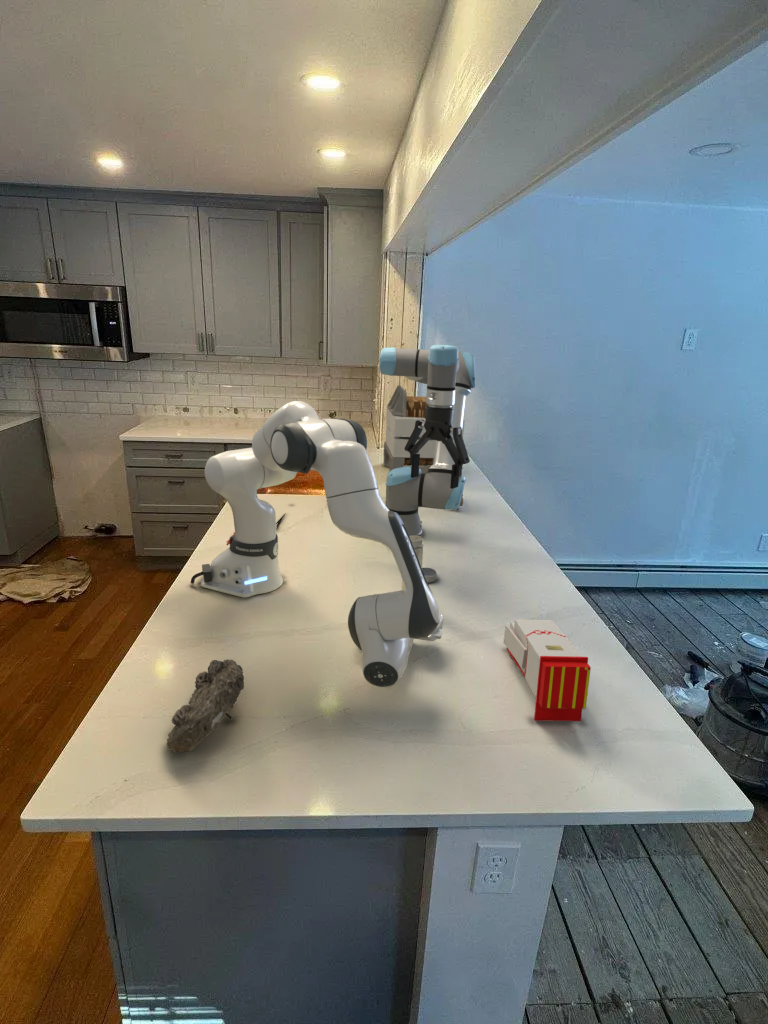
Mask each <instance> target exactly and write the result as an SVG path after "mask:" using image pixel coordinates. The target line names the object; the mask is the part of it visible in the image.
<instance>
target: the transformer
mask: <svg viewBox="0 0 768 1024" xmlns="http://www.w3.org/2000/svg"><path fill="white" fill-rule="evenodd" d="M407 394H408V393H407V390H406V389H404V388H403V387H402V385H399V384H398V385H397V386H396V388H395V390H394V392H393V394H392V395H391V398H390V400H389V402H388V404H387V405H386V413H385V414H386V415H385V423H386V428H385V438H384V442H383V466H384V467H388V468H389V472H390V471H391V470H393V469H396V468H400V467H405V466H406V467H411V465H410V453H409V452H408V451H405V449H404V448H405V446H406V444H407V442H408V440H409V438H410V436H411V434H412V432H413V430H414V428H415V422H416V421H417V420H424V422H425V421H426V419H425V407H426V406H427V405H428V404H427V403H426V396H415V395H414V396H413V395H412V396H411V395H407ZM464 429H465V419H464V418H463V426H462V437H463V438H464V431H465V430H464ZM425 432H426V430H425V428H423V430H422V432H421V434H420V436H419V438H418V440H417V442H418V441H419V440H420V439H421V437H422V435H423V434H424V433H425ZM417 442H416V443H417ZM435 442H436V440H431V439H429V440H428V441H427V443H426V444H425V445H424V446H423V447H422V448H421V449H420V450H419V451H418V452H419V453H417V454H420V462H419V467H430V466H432V465H433V461H434V452H435Z"/></svg>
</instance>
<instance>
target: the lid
mask: <svg viewBox="0 0 768 1024" xmlns="http://www.w3.org/2000/svg"><path fill="white" fill-rule="evenodd" d="M422 571H423V573H424V576H425V578H426V581H427V583H428V584H431V583H434V582H436V581H437V577H438V572H437V570H435V569H434V568H431V567H422Z"/></svg>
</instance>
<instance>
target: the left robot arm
mask: <svg viewBox="0 0 768 1024" xmlns="http://www.w3.org/2000/svg"><path fill="white" fill-rule="evenodd" d="M367 448H368V438H367V434H366V431H365V429H364V427H363V426H362V425H361V424H360V423H359V422H357V421H355V420H352V419H348V418H343V417H331V418H319V415H318V413H317V411H316V410H315V408H314V407H313V406H312V405H310V404H309V403H307V402H305V401H303V400H291V401H289V402H287V403H285V404H284V405H282V406H281V407H279V408H278V409H277V410H276V411H274V412H273V413H271V415H270V416H269V417H268V418H267V419H266V420H265V421H264V423H263V424H262V425H261V426H260V427H259V428H258V430H257V431H256V432H255V433H254V434H253V436H252V440H251V447H246V448H245V447H244V448H239V449H238V448H237V449H232V450H226V451H223V452H220V453H218V454H214V455H212V456H210V457H209V458H208V460H207V461H206V463H205V467H204V478H205V481H206V483H207V485H208V487H209V488H210V489H211V490H212V491H213V492H215V493H216V494H218V495H220V496H221V497H222V498H224V499H225V500H226V502H227V504H228V505H229V506H230V509H231V512H232V517H233V525H234V526H233V527H234V532H233V534H231V536H229V539H228V540H227V541H226V546H229V547H228V548H226V549H225V550H223V551H222V552H220V553H219V554H218V555H217V556H215V557H214V558H213V559H212V560H211V563H204V564H201V571H200V572H197V573H195V574H194V575H193V576H191V580H190V584H191V585H194V584H195V580H196V579H197V578H198V577H201V576H202V578H201V581H200V586H201V587H202V588H205V589H209V590H212V591H216V592H221V593H224V594H227V595H232V596H236V597H239V598H243V599H245V598H246V599H247V598H249V597H253V596H256V595H260V594H261V595H262V594H266V593H270V592H272V591H276V590H277V589H278V588H280V587H281V586H282V585H283V583H284V579H283V576H282V573H281V568H280V565H279V564H280V563H279V559H278V558H279V557H278V555H279V537H278V534H277V530H276V529H277V524H276V523H277V517H276V516H277V514H276V513H277V512H276V509H275V508H274V506H273V505H272V504H271V503H270V502H268V501H266V500H264V499H261V498H259V497H258V490H260V489H265V488H269V487H270V488H271V487H275V486H279V485H282V484H285V483H287V482H289V481H291V480H293V479H295V478H296V476H297V474H298V473H301V474H305V475H307V474H308V473H309V472H310V471H315V472H317V473H318V474H319V475H320V477H321V478H322V481H323V486H324V493H325V499H326V500H325V501H326V505H327V509H328V513H329V517H330V520H331V522H332V523H333V525H334V526H335V528H337V529H338V530H339V531H340V532H342V533H344V534H346V535H348V536H351V537H355V538H358V539H362V540H368V541H372V542H376V543H380V544H382V545H384V547H386V548H388V550H389V551H390V552H391V554H392V557H393V559H394V561H395V564H396V566H397V570H398V571H399V575H400V577H401V581H402V580H403V583H404V585H405V589H404V590H402V589H401V590H396V591H389V592H384V593H374V594H368V595H363V596H358V597H357V598H356V599H355V600H354V601H353V603H352V605H351V608H350V610H349V612H348V617H347V627H348V632H349V635H350V638H351V640H352V642H353V644H354V645H355V646H356V647H357V649H358V650H359V651H360V652H361V655H362V665H361V667H362V668H361V670H362V672H361V673H362V675H363V678H364V679H365V680H366V682H368V683H369V684H371V685H373V686H375V687H378V688H386V687H392V686H394V685H395V684H397V683H398V682H399V681H400V680H401V678H402V676H403V675H404V672H405V670H406V667H407V665H408V661H409V657H410V652H411V650H412V646H413V643H414V641H415V640H420V641H427V642H432V641H433V642H434V641H436V640H441V639H442V636H443V627H444V615H442V613H440V608H439V605H438V603H437V600H436V598H435V596H434V594H433V591H432V589H431V588H430V587H431V586H430V585H429V583H427V581H426V578H425V576H424V573H423V571H422V568H423V567H422V568H421V565H420V563H419V560H418V558H417V555H416V552H415V550H414V547H413V545H412V542H411V540H410V537H409V535H408V532H407V530H406V528H405V525H404V523H403V521H402V520H401V518H400V516H399V515H398V514H397V513H396V512H393V511H390V510H389V509H388V508H387V507H386V505H385V504H386V503H384V500H383V498H382V496H381V494H380V489H379V485H378V481H377V477H376V473H375V470H374V466H373V464H372V461H371V457H370V455H369V452H368V451H367Z"/></svg>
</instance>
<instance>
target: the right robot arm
mask: <svg viewBox="0 0 768 1024" xmlns="http://www.w3.org/2000/svg"><path fill="white" fill-rule="evenodd" d="M378 363H379V371H380V373H381V374H382V375H384V376H390V377H405V378H406V379H407V380H410V381H413V382H417V383H420V384H423V385H426V393H425V394H426V396H425V397H426V403H427V404H428V405H427V406H426V407H425V419H426V421H425V422H424V420H417V421H416V422H415V428H414V430H413V432H412V434H411V436H410V438H409V440H408V442H407V444H406V446H405V448H404V449H405V451H408V452H409V453H410V465H411V466H404V467H400V468H396V469H393V470H391V471H390V470H389V472H388V473H387V475H386V482H385V503H384V504H385V505H386V507H387V508H388V509H389V510H390V511H393V512H396V513H397V514H398V515H399V516H400V518H401V520H402V521H403V523H404V525H405V528H406V530H407V532H408V535H409V536H411V535H416V536H420V537H422V535H423V525H422V522H423V520H421V518H420V515H419V508H427V509H436V510H443V511H447V510H448V511H456V510H457V508H460V506H459V505H460V502H461V498H463V497H462V494H463V495H464V489H465V484H466V477H465V476H462V475H463V465H466V464H469V463H470V462H471V460H470V457H469V454H468V449H467V446H466V444H465V440H464V436H463V437H462V426H463V419H464V417H465V416H464V415H465V406H466V398H467V397H468V396H469V395H470V394H471V392H472V389H475V388H476V357H475V355H474V354H473V352H468V351H462V350H460V351H459V348H458V347H457V346H456V345H451V344H450V345H449V344H432V345H430V347H429V349H421V348H420V349H419V348H418V349H415V348H403V347H401V348H400V347H384V348H382V349H381V350H380V354H379V362H378ZM423 428H425V430H426V432H425V433H424V434H423V435H422V437H421V439H420V440H419V441H418V442H417V440H418V438H419V436H420V434H421V432H422V430H423ZM429 439H431V440H436V442H435V452H434V461H433V465H430V466H428V469H427V473H423V472H422V469H421V468H420V466H419V462H420V454H417V453H419V452H418V451H419V450H420V449H421V448H422V447H423V446H424V445H425V444H426V443H427V441H428V440H429ZM416 442H417V443H416Z"/></svg>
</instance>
